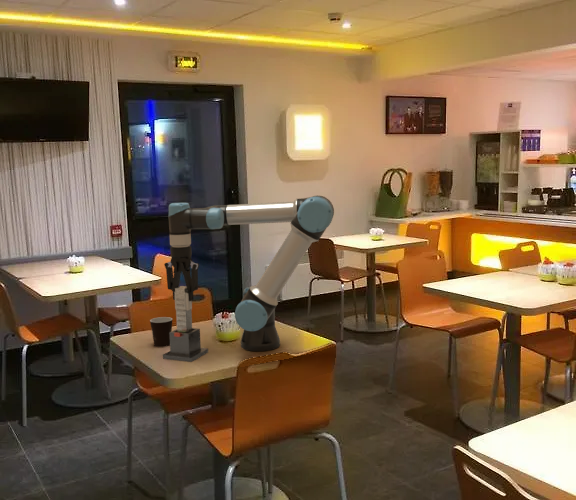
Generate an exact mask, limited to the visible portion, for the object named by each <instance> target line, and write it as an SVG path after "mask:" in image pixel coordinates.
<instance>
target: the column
mask: <svg viewBox="0 0 576 500" xmlns="http://www.w3.org/2000/svg"><path fill="white" fill-rule="evenodd" d="M186 292H187V287H186V285H185V286H184V285H179V287H177V288H175V298H176V309H175V316H176V329H177V332H179V333H189V332H191V331H192V328H193V316H192V313H193V312H192V309H191V310H186Z"/></svg>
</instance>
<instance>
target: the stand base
mask: <svg viewBox="0 0 576 500" xmlns="http://www.w3.org/2000/svg"><path fill="white" fill-rule="evenodd" d="M169 334H170V345H169V347H170V349H169V351H168V352H165V353H163V354H162V359H163V360H171V361H172V360H173V361H180V362H188V363H192V362H195V361H196V360H198V359H199V358H202V357H203V356H204V355H205V356H206V355H207V354H208V353H209V348H205V347H201V329H200V328H195V327H192V331H191V332H189V333H179V332H177V328H176V329H174V330H172V332H169Z"/></svg>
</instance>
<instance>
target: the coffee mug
mask: <svg viewBox="0 0 576 500" xmlns="http://www.w3.org/2000/svg"><path fill="white" fill-rule="evenodd" d="M149 323H150V327H151V328H150V329H151V334H152V339H153V345H154V347H157V348H159V347H160V348H163V347H170V334H169V332H172V331H173V330H172V329H173V318H172V317H170V316H169V317H167V316H160V317H159V316H158V317H153V318H151V319H149Z"/></svg>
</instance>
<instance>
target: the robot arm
mask: <svg viewBox="0 0 576 500" xmlns="http://www.w3.org/2000/svg"><path fill="white" fill-rule="evenodd" d="M334 214H335V209H334V206H333V204H332V202H331V200H330V199H329V198H327V197H325V196H322V195H313V196H309V197H303V198H296V199H295V200H294V201H283V202H282V201H281V202H279V201H278V202H277V201H276V202H264V203H263V202H260V203H259V202H258V203H242V204H240V203H239V204H221V205H220V204H214V205H211V206H207V207H197V208H196V207H194V208H192V207H190V203H189V202H172V203H169V205H168V216H167V217H168V227H169V228H168V229H169V245H170V248H169V249H170V261H167V262H165V263H164V264H163V265H164V268H165V271H166V282H167V285H166V286H167V289H168V290H170V291H172V299H173V300H174V309H175V310H176V298H175V288H177V287H180V278H181V273H182V274H183V277H184V282H185V286H186V287H187V292H186V310H191V311H192V310H193V301H194V292H195V291H197V290H198V289H199V267H200V263H195V262H194V261H193V259H192V255H193V254H192V246H191V244H192V237H191V234H192V232H191V231H192V230H220V229H222V228H223V227H224V226H231V225H235V226H236V225H253V224H256V225H258V224H259V225H260V224H276V223H277V224H278V223H279V224H282V223H290V227H291V229H290V231H289V233H288V235H287V236H286V238H285V239H284V241H283V243H282V244H281V245H280V247H279V249H277V252H276V253H275V255H274V257H273V258H272V260H271V261H270V263H269V265H268V266H267V268H266V269H265V271H264V273H263V274H262V276H261V277H260V279H259V280H258V282H257V284H256V285H251V286H247V287H245V288H244V289H243V294H242V296H243V297H242V299H241V301H240V302H239V303H238V304H237V306H236V307H235V312H234V319H235V321H236V324H237V325H238V326H239V327H240V328H241V329H242V330H243V332H242V335H241V339H240V348H241V349H243V350H246V351H250V352H266V351H272V350H275V349H278V348H280V346H281V339H280V336H279V334H278V331H277V330H278V329H277V327H276V321H275V320H276V316H275V315H276V314H275V313H276V311H275V310H276V308H277V305H278V304H279V302H278V299H277V298H278V296H279V295H280V294H281V292H282V290H283V289H284V287H285V286H286V285H287V282H288V281H289V279H290V278H291V276H292V275H293V273H294V272H295V270H296V268H297V267H298V265H299V264H300V263H301V261H302V259H303V257H304V256H305V254H306V253H307V251H308V250H309V248H310V247H311V245H312V243H315V242H319V240H320V239H321V238H322V236H323V234H324V233H325V232H326V230H327V228H328V227H329V226H330V225H331V223H332V222H333V218H334ZM190 268H191V269H190Z"/></svg>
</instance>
